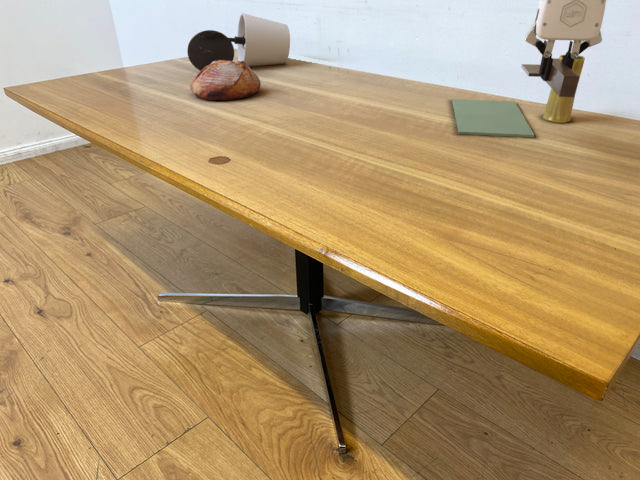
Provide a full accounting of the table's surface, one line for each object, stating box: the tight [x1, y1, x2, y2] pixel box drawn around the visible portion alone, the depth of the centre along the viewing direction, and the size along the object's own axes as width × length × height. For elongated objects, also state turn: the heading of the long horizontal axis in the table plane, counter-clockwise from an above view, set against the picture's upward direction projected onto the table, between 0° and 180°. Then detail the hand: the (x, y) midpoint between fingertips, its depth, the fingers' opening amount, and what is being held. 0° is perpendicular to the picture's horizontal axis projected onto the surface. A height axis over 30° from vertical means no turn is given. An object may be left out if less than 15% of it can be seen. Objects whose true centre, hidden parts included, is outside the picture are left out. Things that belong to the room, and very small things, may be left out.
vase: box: [542, 54, 586, 124], centre depth 112 cm, size 6×6×14 cm
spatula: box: [520, 57, 581, 97], centre depth 89 cm, size 22×7×3 cm, turn 170°
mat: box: [451, 98, 536, 138], centre depth 117 cm, size 16×26×1 cm, turn 170°
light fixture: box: [186, 12, 291, 72], centre depth 163 cm, size 17×19×34 cm
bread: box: [189, 60, 262, 102], centre depth 136 cm, size 16×20×10 cm
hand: (553, 78), depth 89 cm, fingers closed on spatula, 2 cm apart
